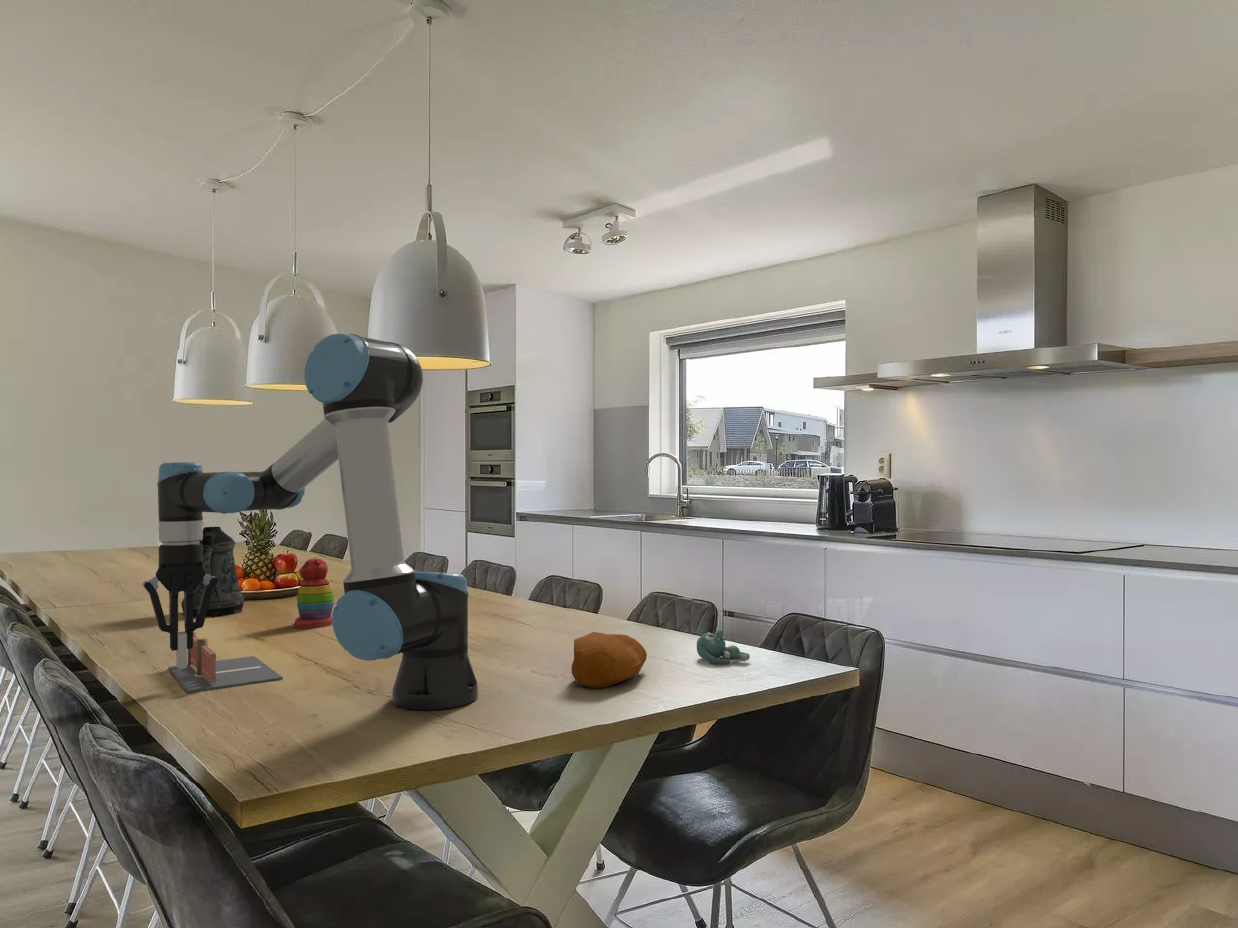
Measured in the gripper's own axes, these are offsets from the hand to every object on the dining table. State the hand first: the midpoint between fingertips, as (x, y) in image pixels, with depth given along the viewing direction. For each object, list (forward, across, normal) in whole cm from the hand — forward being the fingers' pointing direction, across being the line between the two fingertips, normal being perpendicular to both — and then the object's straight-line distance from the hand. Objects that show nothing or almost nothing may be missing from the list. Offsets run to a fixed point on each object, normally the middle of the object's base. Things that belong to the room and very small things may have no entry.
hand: (181, 666), depth 163 cm
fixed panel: (+4, -5, -14) cm, 15 cm away
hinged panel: (+3, -5, -2) cm, 6 cm away
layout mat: (+4, -9, -8) cm, 13 cm away
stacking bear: (+4, -39, -54) cm, 67 cm away
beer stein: (+4, -20, -90) cm, 92 cm away
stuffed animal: (+5, -99, +42) cm, 108 cm away
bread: (+5, -71, +42) cm, 82 cm away
